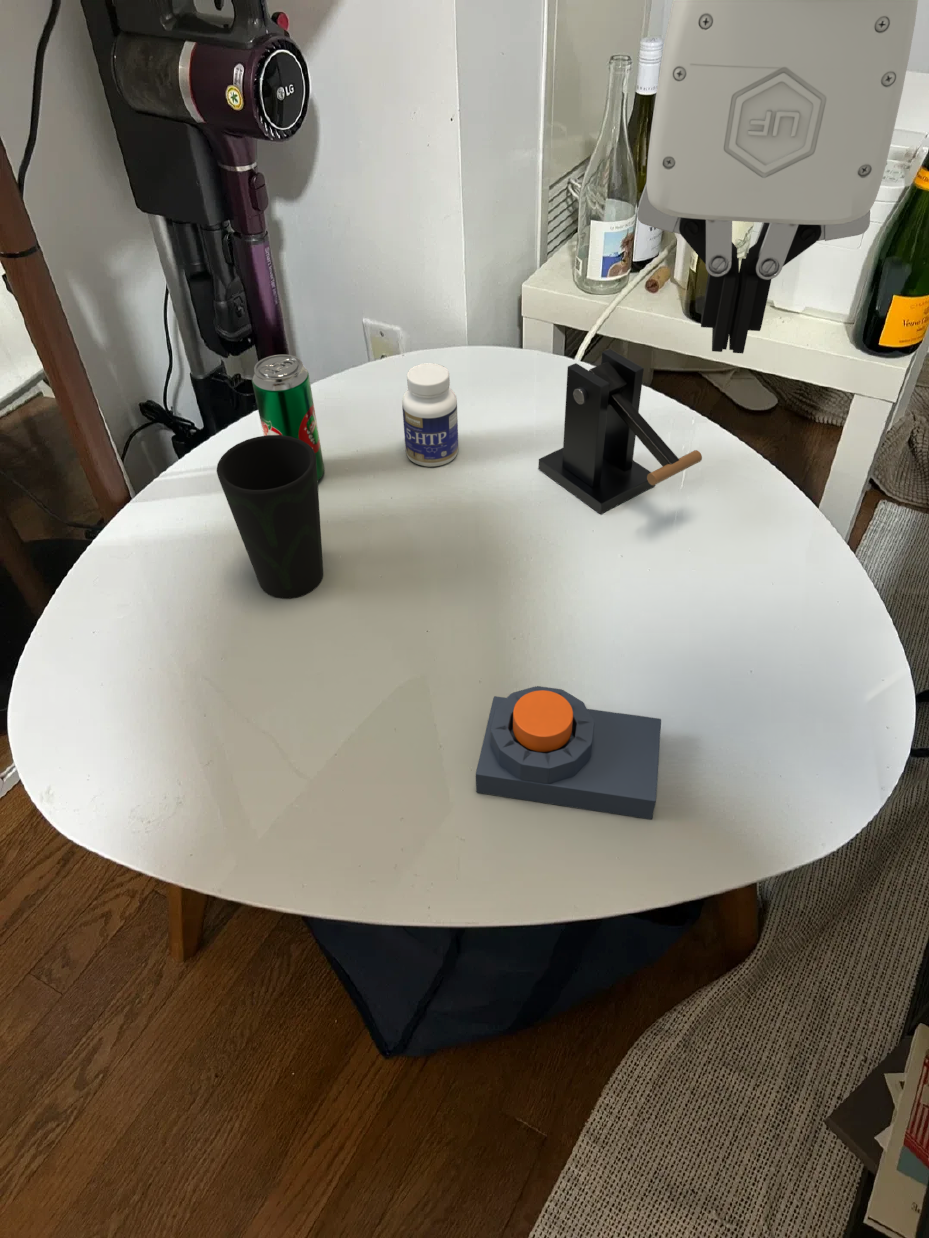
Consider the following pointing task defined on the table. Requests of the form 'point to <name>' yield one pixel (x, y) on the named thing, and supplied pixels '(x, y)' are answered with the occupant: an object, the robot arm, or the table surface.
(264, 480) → the cup
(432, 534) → the table surface
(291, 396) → the soda can
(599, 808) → the control block
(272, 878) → the table surface
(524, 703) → the button
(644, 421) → the lever
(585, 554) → the table surface
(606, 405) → the switch bracket
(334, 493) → the table surface
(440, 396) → the pill bottle
